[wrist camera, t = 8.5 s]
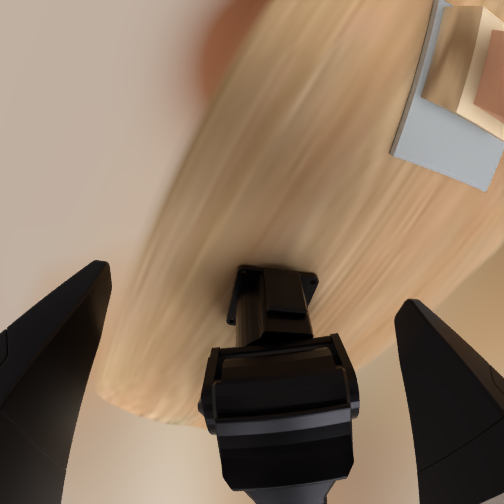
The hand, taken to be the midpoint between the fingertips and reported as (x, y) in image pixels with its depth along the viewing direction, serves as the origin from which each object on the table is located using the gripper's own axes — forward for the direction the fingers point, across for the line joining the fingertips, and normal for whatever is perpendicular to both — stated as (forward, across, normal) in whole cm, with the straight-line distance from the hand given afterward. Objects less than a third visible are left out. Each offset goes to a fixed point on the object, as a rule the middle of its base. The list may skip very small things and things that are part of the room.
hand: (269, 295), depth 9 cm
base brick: (+12, -13, -10) cm, 20 cm away
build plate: (+12, -14, -8) cm, 20 cm away
